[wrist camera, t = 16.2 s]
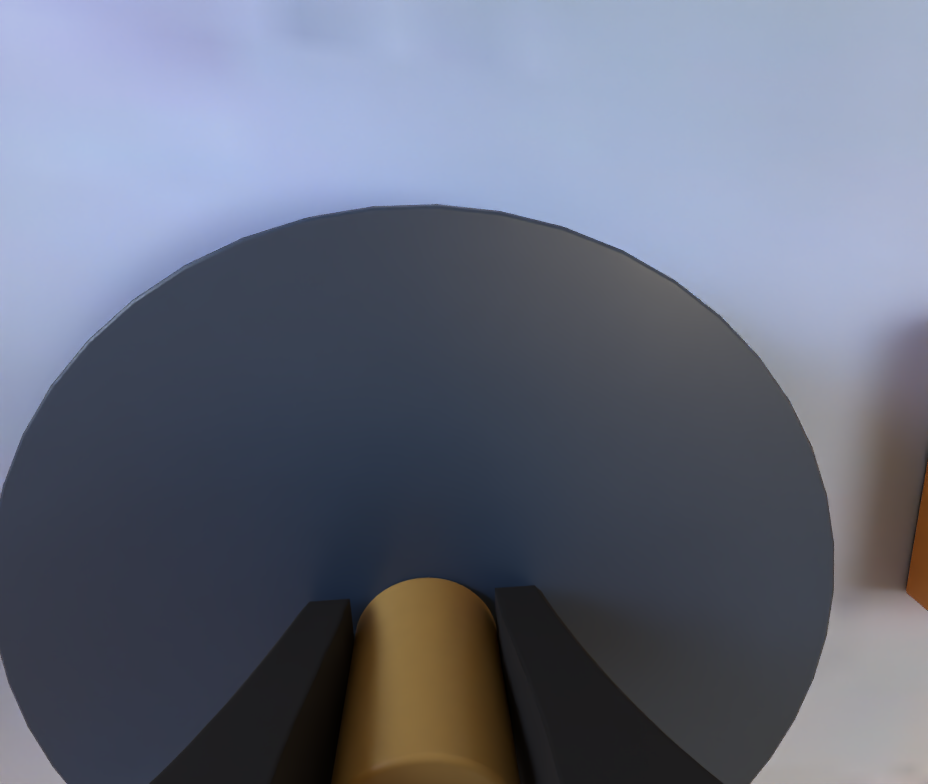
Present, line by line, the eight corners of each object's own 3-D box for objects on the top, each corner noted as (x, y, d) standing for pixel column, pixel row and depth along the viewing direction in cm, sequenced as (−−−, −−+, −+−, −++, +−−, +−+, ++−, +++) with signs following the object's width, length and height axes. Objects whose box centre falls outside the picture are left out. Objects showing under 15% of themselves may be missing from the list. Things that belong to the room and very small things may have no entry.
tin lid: (637, 924, 14) (728, 1247, 10) (-10, 810, 12) (-244, 1142, 8) (933, 346, 11) (1276, 454, 6) (93, 76, 9) (-217, -25, 5)
